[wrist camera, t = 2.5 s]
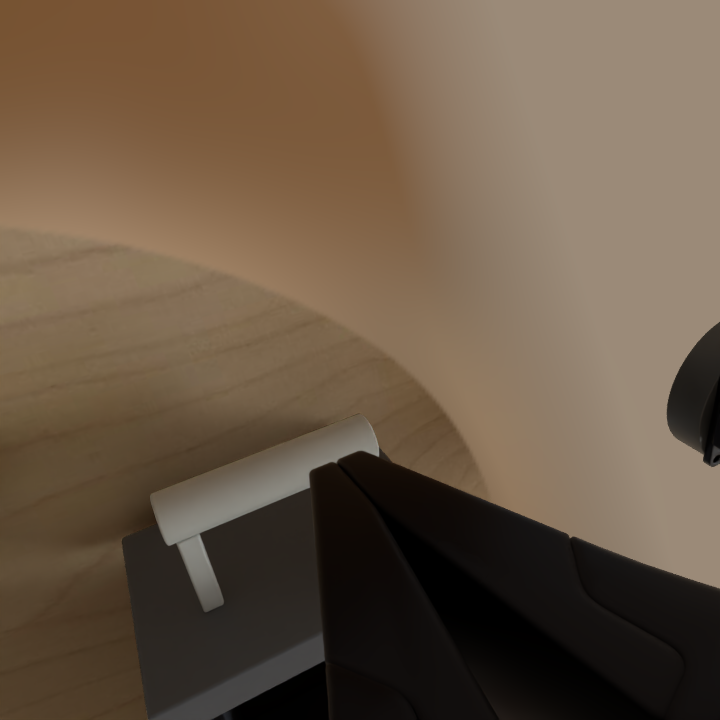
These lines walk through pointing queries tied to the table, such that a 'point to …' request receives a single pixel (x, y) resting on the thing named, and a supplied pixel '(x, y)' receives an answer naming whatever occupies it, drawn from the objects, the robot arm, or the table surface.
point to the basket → (237, 586)
